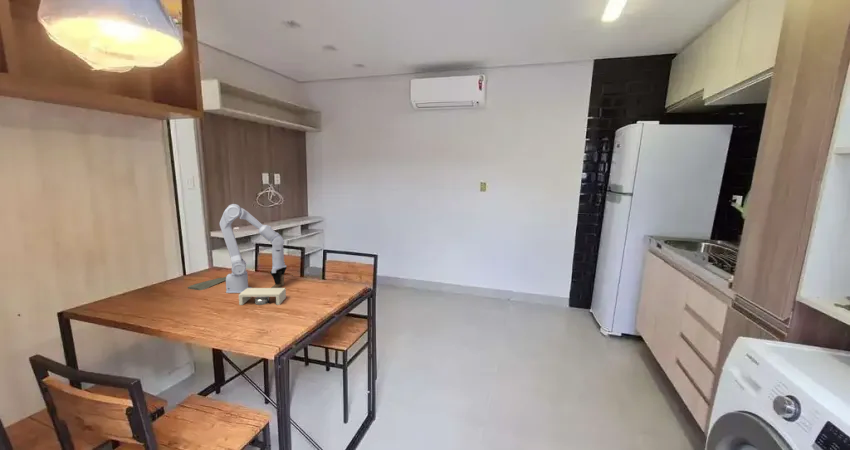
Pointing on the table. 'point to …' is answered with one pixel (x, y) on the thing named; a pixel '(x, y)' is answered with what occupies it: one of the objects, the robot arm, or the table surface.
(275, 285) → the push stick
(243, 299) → the plinth shelf
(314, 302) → the table surface
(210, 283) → the stone slab
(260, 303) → the steel token
